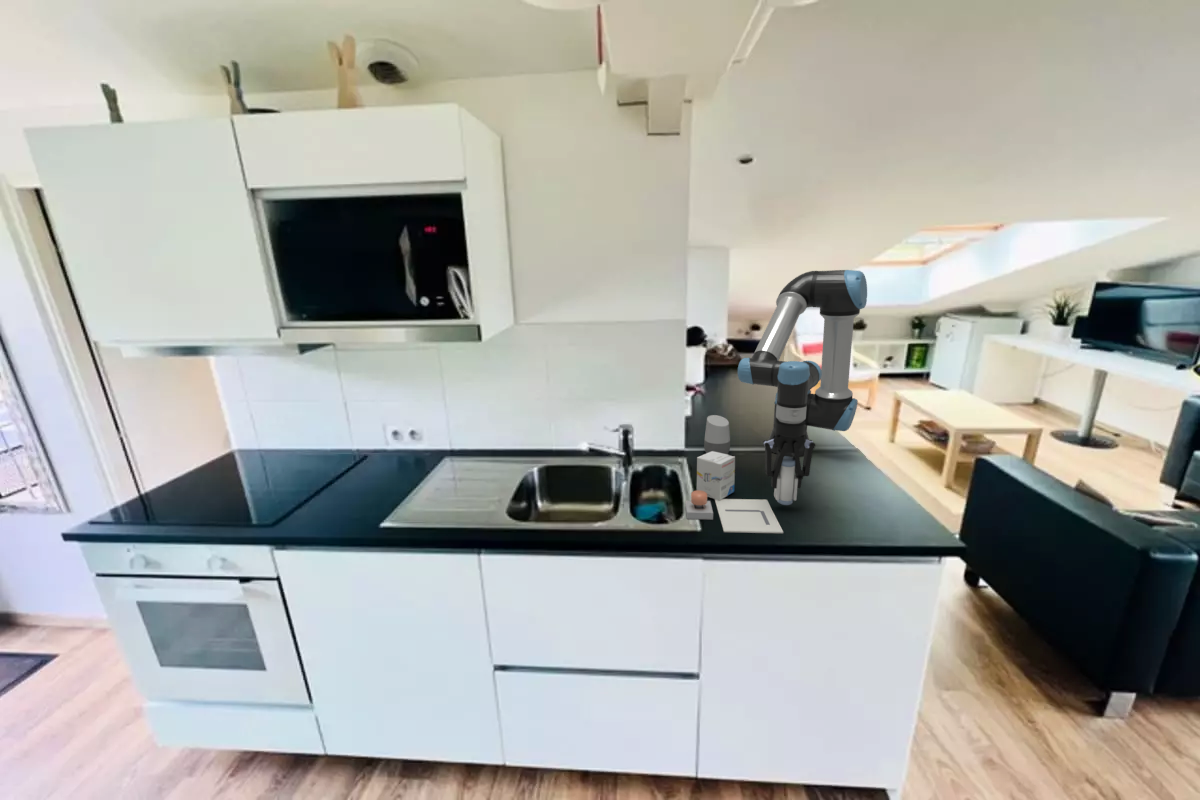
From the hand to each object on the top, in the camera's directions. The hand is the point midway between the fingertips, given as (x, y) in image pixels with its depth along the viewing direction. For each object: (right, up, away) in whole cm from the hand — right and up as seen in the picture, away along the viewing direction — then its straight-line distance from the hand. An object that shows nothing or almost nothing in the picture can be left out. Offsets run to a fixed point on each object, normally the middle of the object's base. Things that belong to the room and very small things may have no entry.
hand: (785, 497), depth 137 cm
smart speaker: (-9, +8, +42) cm, 44 cm away
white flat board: (-12, -4, -2) cm, 13 cm away
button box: (-24, -4, 0) cm, 25 cm away
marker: (0, -1, 0) cm, 1 cm away
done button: (-24, -3, 0) cm, 25 cm away
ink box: (-17, -1, +11) cm, 20 cm away
